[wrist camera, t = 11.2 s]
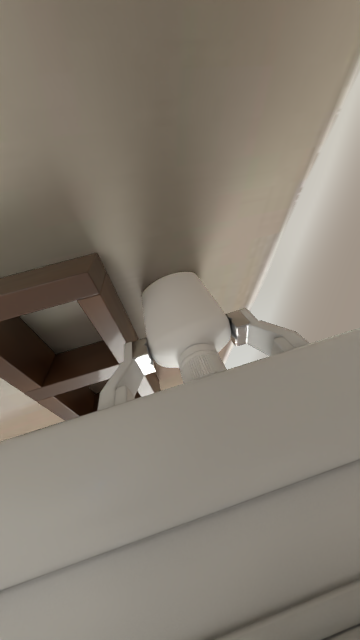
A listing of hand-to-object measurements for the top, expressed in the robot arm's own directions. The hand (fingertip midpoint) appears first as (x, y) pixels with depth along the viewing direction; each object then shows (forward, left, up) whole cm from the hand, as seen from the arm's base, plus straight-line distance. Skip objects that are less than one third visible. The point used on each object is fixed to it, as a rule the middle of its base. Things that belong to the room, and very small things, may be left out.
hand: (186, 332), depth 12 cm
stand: (+4, -10, -6) cm, 13 cm away
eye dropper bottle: (0, 0, -7) cm, 7 cm away
